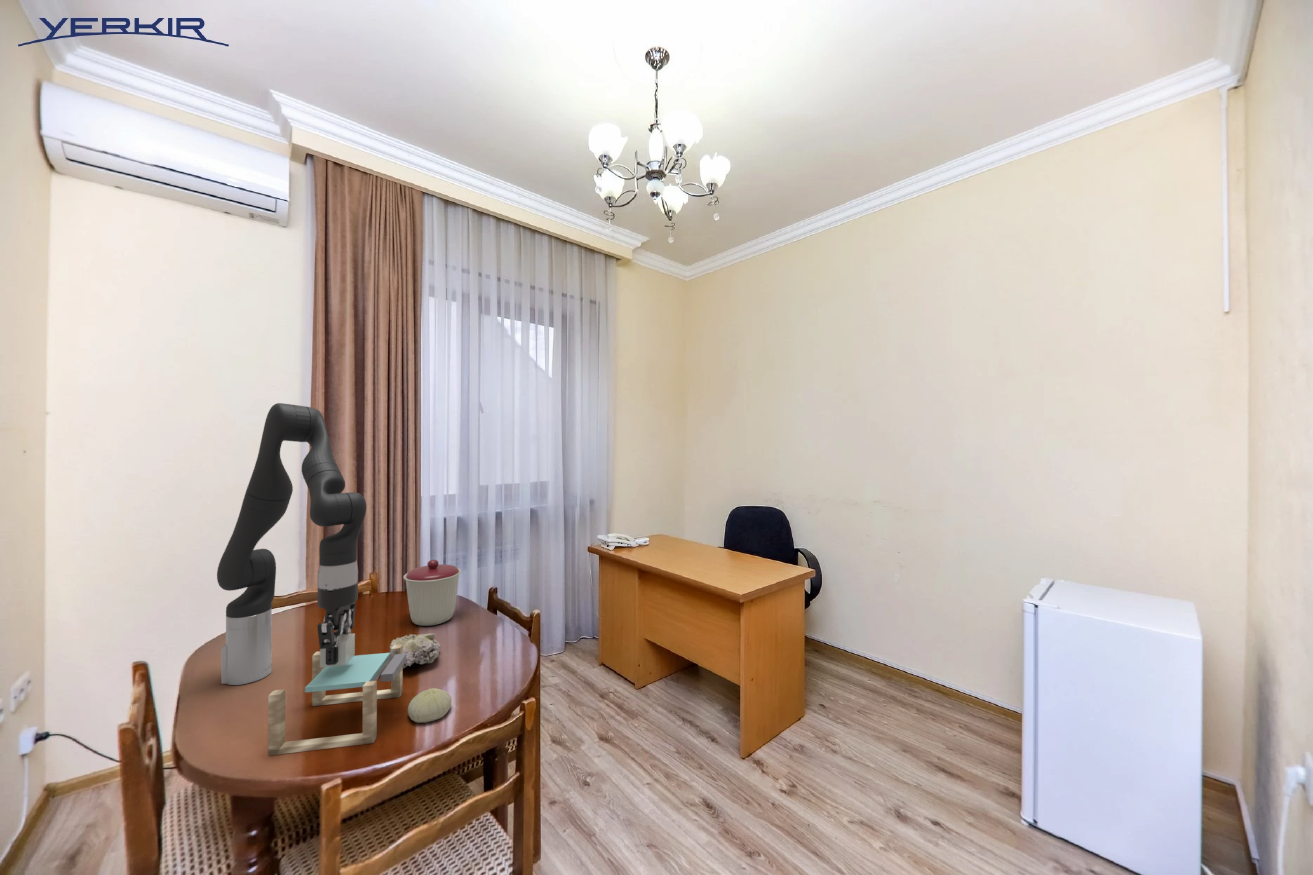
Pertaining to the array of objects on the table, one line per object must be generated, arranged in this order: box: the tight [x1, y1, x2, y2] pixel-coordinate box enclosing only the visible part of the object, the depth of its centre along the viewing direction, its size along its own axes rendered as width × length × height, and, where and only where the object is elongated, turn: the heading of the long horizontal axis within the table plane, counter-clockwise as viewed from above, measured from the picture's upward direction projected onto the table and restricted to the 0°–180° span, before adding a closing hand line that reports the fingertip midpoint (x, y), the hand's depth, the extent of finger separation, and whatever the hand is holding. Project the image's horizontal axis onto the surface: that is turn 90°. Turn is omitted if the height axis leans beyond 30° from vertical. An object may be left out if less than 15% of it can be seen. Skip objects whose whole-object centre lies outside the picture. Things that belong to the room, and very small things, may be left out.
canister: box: [403, 559, 462, 627], centre depth 166 cm, size 18×18×21 cm
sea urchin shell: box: [407, 687, 452, 724], centre depth 110 cm, size 9×8×8 cm
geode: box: [389, 633, 442, 669], centre depth 136 cm, size 17×9×15 cm
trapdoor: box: [304, 652, 406, 693], centre depth 108 cm, size 16×14×2 cm
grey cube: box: [319, 633, 356, 667], centre depth 107 cm, size 5×5×5 cm
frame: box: [267, 645, 404, 757], centre depth 107 cm, size 19×20×12 cm
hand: (337, 657), depth 107 cm, fingers closed on grey cube, 5 cm apart
